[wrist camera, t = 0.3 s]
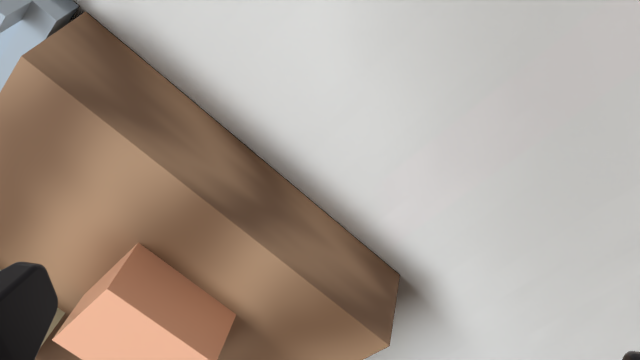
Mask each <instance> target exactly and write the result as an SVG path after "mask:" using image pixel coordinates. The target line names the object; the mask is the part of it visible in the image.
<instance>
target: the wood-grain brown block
mask: <svg viewBox="0 0 640 360" xmlns="http://www.w3.org/2000/svg"><path fill="white" fill-rule="evenodd" d="M137 243H140V244H141V245H142V246H144V247H145V248H146V249H148V250H149V251H151V252H152V253H153V254H155V255H156V256H157V257H159V258H160V259H161V260H163V261H164V262H166V263H167V264H168V265H170V266H171V267H172V268H174V269H175V270H176V271H178V272H179V273H181V274H182V275H183V276H185V277H186V278H187V279H189V280H190V281H191V282H193V283H194V284H196V285H197V286H198V287H200V288H201V289H202V290H204V291H205V292H206V293H208V294H209V295H211V296H212V297H213V298H215V299H216V300H217V301H219V302H220V303H221V304H223V305H224V306H225V307H227V308H228V309H230V310H231V311H232V312H234V313H235V314H236V317H235V319H234V321H233V324H232V326H231V329H230V331H229V333H228V336H227V338H226V340H225V343H224V345H223V348H222V350H221V352H220V355H219V357H218V359H217V360H363V359H365V358H367V357H369V356H371V355H373V354H375V353H377V352H379V351H381V350H383V349H385V348H387V347H389V346H390V340H391V333H392V326H393V319H394V312H395V305H396V298H397V291H398V284H399V278H400V275H399V274H398V273H397V272H395V271H394V270H393V269H392V268H391V267H390V266H388V265H387V264H386V263H385V262H384V261H382V260H381V259H380V258H379V257H378V256H376V255H375V254H374V253H373V252H372V251H370V250H369V249H368V248H367V247H366V246H364V245H363V244H362V243H361V242H360V241H359V240H357V239H356V238H355V237H354V236H353V235H351V234H350V233H349V232H348V231H347V230H345V229H344V228H343V227H342V226H341V225H339V224H338V223H337V222H336V221H335V220H333V219H332V218H331V217H330V216H329V215H328V214H326V213H325V212H324V211H323V210H322V209H320V208H319V207H318V206H317V205H316V204H314V203H313V202H312V201H311V200H310V199H308V198H307V197H306V196H305V195H304V194H302V193H301V192H300V191H299V190H298V189H297V188H295V187H294V186H293V185H292V184H291V183H289V182H288V181H287V180H286V179H285V178H283V177H282V176H281V175H280V174H279V173H277V172H276V171H275V170H274V169H273V168H271V167H270V166H269V165H268V164H267V163H266V162H264V161H263V160H262V159H261V158H260V157H258V156H257V155H256V154H255V153H254V152H252V151H251V150H250V149H249V148H248V147H246V146H245V145H244V144H243V143H242V142H240V141H239V140H238V139H237V138H236V137H235V136H233V135H232V134H231V133H230V132H229V131H227V130H226V129H225V128H224V127H223V126H221V125H220V124H219V123H218V122H217V121H215V120H214V119H213V118H212V117H211V116H209V115H208V114H207V113H206V112H205V111H204V110H202V109H201V108H200V107H199V106H198V105H196V104H195V103H194V102H193V101H192V100H190V99H189V98H188V97H187V96H186V95H184V94H183V93H182V92H181V91H180V90H178V89H177V88H176V87H175V86H174V85H173V84H171V83H170V82H169V81H168V80H167V79H165V78H164V77H163V76H162V75H161V74H159V73H158V72H157V71H156V70H155V69H153V68H152V67H151V66H150V65H149V64H147V63H146V62H145V61H144V60H143V59H142V58H140V57H139V56H138V55H137V54H136V53H134V52H133V51H132V50H131V49H130V48H128V47H127V46H126V45H125V44H124V43H122V42H121V41H120V40H119V39H118V38H116V37H115V36H114V35H113V34H112V33H111V32H109V31H108V30H107V29H106V28H105V27H103V26H102V25H101V24H100V23H99V22H97V21H96V20H95V19H94V18H93V17H91V16H90V15H89V14H88V13H87V12H84V13H83V14H81V15H80V16H78V17H77V18H76V19H74V20H73V21H71V22H70V23H68V24H67V25H65V26H64V27H62V28H61V29H60V30H58V31H57V32H55V33H54V34H52V35H51V36H49V37H48V38H47V39H45V40H44V41H42V42H41V43H39V44H38V45H36V46H35V47H33V48H32V49H31V50H29V51H28V52H26V53H25V54H23V55H22V56H21V57H20V59H19V61H18V62H17V64H16V66H15V67H14V69H13V71H12V73H11V74H10V76H9V78H8V80H7V81H6V83H5V85H4V86H3V88H2V90H1V92H0V270H3V269H5V268H6V267H8V266H10V265H12V264H14V263H16V262H30V263H37V264H41V265H43V266H44V267H45V268H46V270H47V272H48V274H49V277H50V279H51V282H52V284H53V287H54V289H55V292H56V294H57V297H58V308H59V309H60V310H62V311H63V312H65V314H64V315H63V317H62V318H61V320H60V321H59V322H58V324H57V325H56V327H55V328H54V329H53V331H52V332H51V333H50V335H49V336H48V338H47V339H46V340H45V342H44V343H43V345H42V346H41V347H40V349H39V351H38V354H37V356H36V358H35V360H82V359H80V358H79V357H77V356H76V355H74V354H73V353H71V352H69V351H68V350H66V349H65V348H63V347H62V346H60V345H59V344H57V343H56V342H54V341H52V339H53V338H54V336H55V335H56V333H57V332H58V331H59V329H60V328H61V326H62V325H63V324H64V322H65V321H66V319H67V318H68V316H69V315H70V314H71V312H72V311H73V309H74V308H75V307H76V305H77V304H78V302H79V301H80V300H81V298H82V297H83V295H84V294H85V293H86V292H87V291H88V290H89V289H90V288H92V287H93V286H94V285H95V284H96V283H97V282H98V281H99V280H100V279H101V278H102V277H103V276H104V275H105V274H106V273H107V272H108V271H109V270H110V269H111V268H112V267H113V266H114V265H115V264H116V263H118V262H119V261H120V260H121V259H122V258H123V257H124V256H125V255H126V254H127V253H128V252H129V251H130V250H131V249H132V248H133V247H134V246H135V245H136V244H137Z"/></svg>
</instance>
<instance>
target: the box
mask: <svg viewBox="0 0 640 360" xmlns="http://www.w3.org/2000/svg"><path fill="white" fill-rule="evenodd" d="M78 7H79V6H78V5H77V4H76V3H75V2H74V1H72V0H0V92H1V90H2V88H3V86H4V85H5V83H6V81H7V80H8V78H9V76H10V74H11V73H12V71H13V69H14V67H15V66H16V64H17V62H18V61H19V59H20V57H21V56H22V55H23V54H25V53H26V52H28V51H29V50H31V49H32V48H33V47H35V46H36V45H38V44H39V43H41V42H42V41H44V40H45V39H47V38H48V37H49V36H51V35H52V34H54V33H55V32H57V31H58V30H60V29H61V28H62V27H64V26H65V25H67V24H68V23H69V21H70V20H71V18H72V16H73V15H74V13H75V12H76V10H77V8H78Z"/></svg>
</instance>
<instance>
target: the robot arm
mask: <svg viewBox="0 0 640 360" xmlns="http://www.w3.org/2000/svg"><path fill="white" fill-rule="evenodd" d="M57 308H58V297H57V294H56V292H55V289H54V287H53V284H52V282H51V279H50V277H49V274H48V272H47V270H46V268H45V267H44V266H43V265H41V264H37V263H30V262H16V263H14V264H12V265H10V266H8V267H6V268H5V269H3V270H1V271H0V360H35V358H36V356H37V354H38V351H39V349H40V347H41V345H42V343H43V340H44V338H45V336H46V334H47V332H48V330H49V327H50V325H51V323H52V321H53V319H54V317H55V314H56V312H57ZM622 360H640V352H636V351H629V352H627V353H626V354H625V355H624V357H623V359H622Z"/></svg>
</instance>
